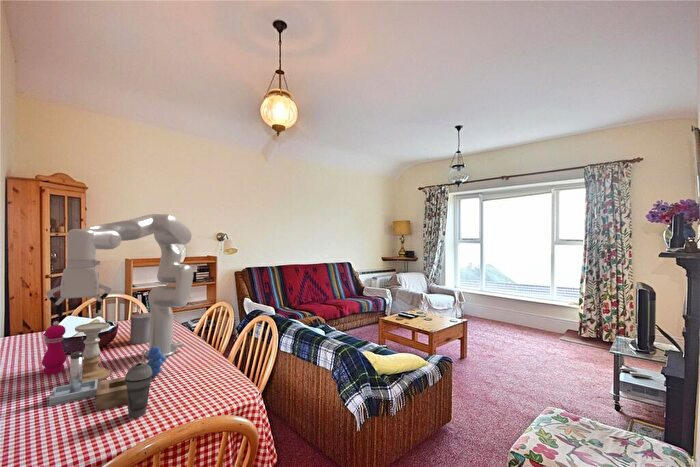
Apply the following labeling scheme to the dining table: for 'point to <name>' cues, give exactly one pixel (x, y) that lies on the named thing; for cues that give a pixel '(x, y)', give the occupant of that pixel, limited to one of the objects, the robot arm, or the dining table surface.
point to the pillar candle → (140, 328)
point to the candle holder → (92, 352)
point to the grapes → (155, 360)
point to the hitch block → (111, 393)
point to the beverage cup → (138, 388)
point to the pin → (76, 372)
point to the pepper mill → (54, 350)
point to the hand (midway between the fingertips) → (79, 314)
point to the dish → (63, 395)
